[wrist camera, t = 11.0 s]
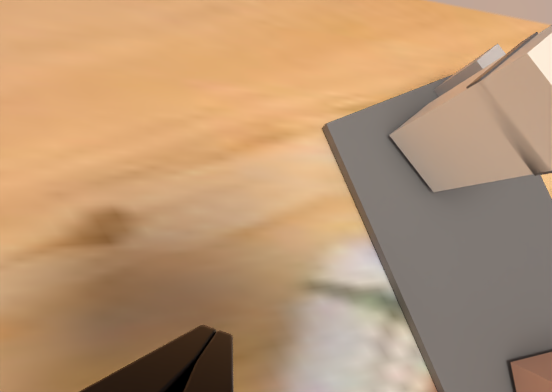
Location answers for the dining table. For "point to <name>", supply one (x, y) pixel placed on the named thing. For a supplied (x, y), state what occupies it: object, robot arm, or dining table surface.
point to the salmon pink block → (533, 373)
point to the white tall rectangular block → (487, 122)
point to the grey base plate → (453, 247)
